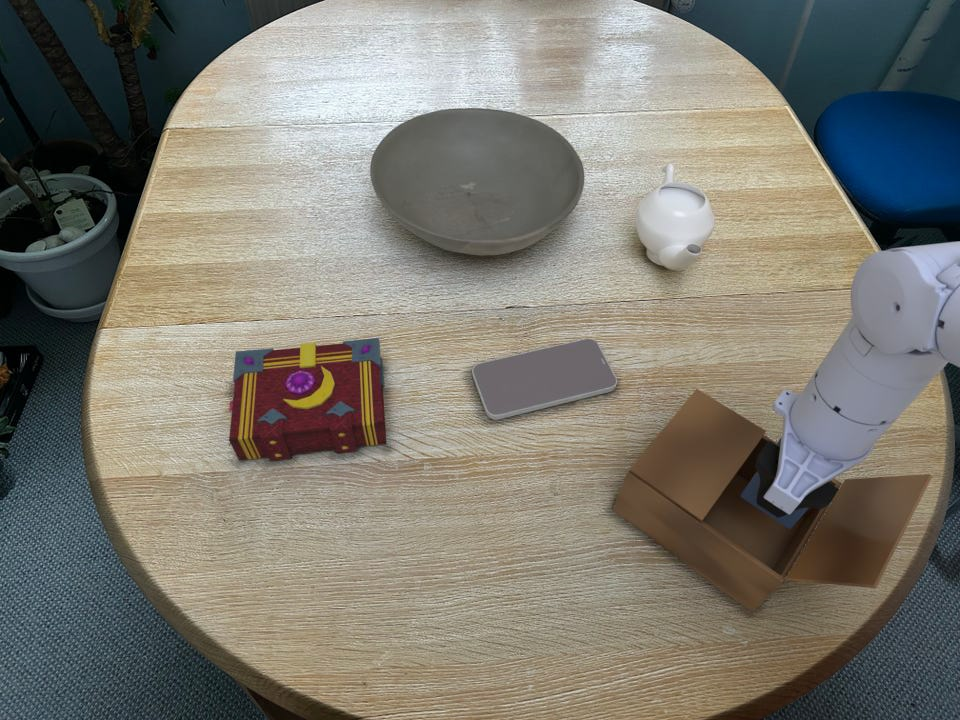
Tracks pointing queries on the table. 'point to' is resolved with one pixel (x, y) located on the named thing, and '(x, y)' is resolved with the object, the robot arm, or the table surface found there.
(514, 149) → the bowl
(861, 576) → the flap
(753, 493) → the block
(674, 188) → the teapot
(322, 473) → the table surface
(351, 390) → the decorative book
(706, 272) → the table surface
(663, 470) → the carton
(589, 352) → the smartphone
